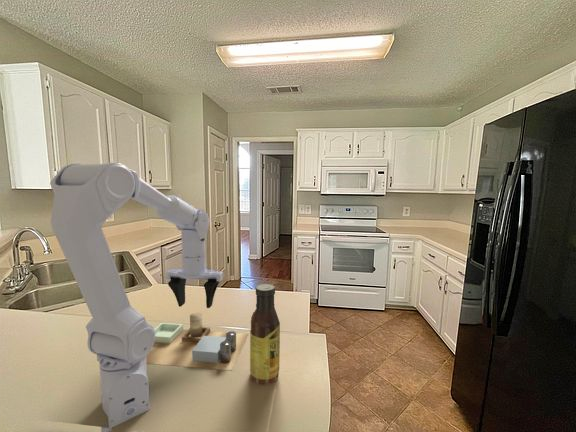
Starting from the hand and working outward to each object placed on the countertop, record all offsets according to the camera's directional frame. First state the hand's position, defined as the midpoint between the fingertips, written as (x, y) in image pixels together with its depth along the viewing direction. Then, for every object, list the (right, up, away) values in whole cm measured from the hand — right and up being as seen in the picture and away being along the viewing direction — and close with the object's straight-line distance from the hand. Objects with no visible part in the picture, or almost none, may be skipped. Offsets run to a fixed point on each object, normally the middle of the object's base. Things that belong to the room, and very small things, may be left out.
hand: (195, 305), depth 66 cm
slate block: (+6, -9, -6) cm, 13 cm away
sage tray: (-8, -9, +1) cm, 12 cm away
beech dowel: (0, -9, +1) cm, 9 cm away
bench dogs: (+10, -9, -6) cm, 15 cm away
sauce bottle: (+20, -11, -12) cm, 26 cm away
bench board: (+1, -10, -3) cm, 10 cm away
